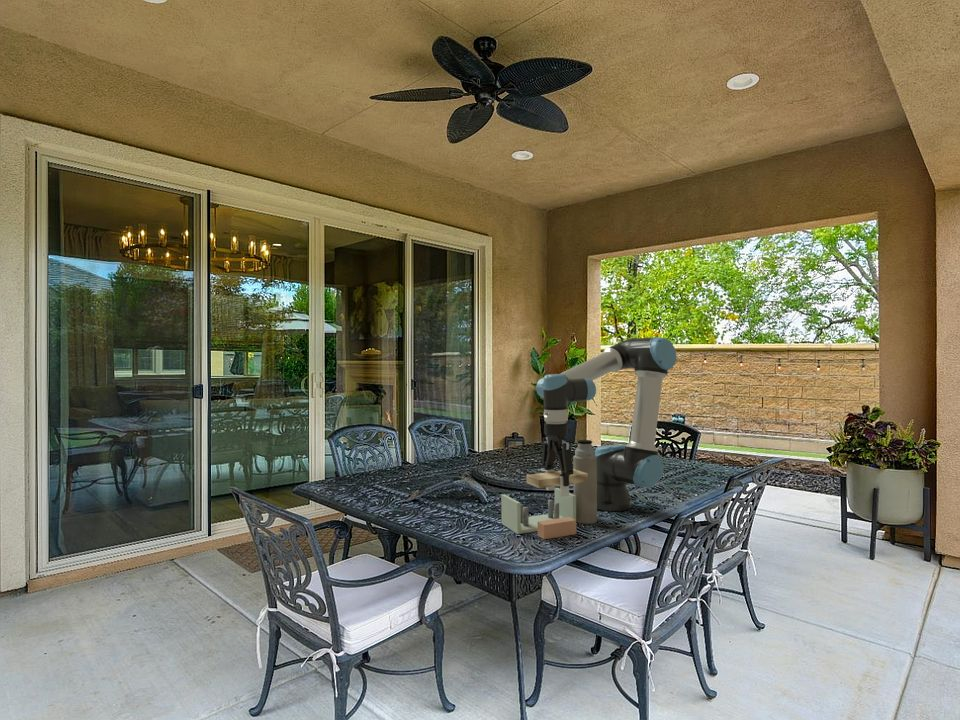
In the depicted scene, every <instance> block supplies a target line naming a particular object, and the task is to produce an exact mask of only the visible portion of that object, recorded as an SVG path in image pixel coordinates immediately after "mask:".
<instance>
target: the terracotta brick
mask: <svg viewBox="0 0 960 720" xmlns="http://www.w3.org/2000/svg"><path fill="white" fill-rule="evenodd" d="M572 535H577V522H576V520H575V519H573V518H571V517H565V518H558V519H552V520H545V521H538V531H537V536H538V537H539V538H540V539H543V540H548V539H556V538H561V537H566V536H567V537H568V536H572Z"/></svg>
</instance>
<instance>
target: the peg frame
mask: <svg viewBox="0 0 960 720" xmlns="http://www.w3.org/2000/svg"><path fill="white" fill-rule="evenodd" d="M500 496H501V498H500V499H501V500H500V501H501V509H500V510H501V524H502V525H503V526H504V527H506V528H507V529H509V530H511V531H512V532H513V533H515V534H517V535H520V534H527V533H532V532H538V521H545V520H552V519H558V518H565V517H571V518H573V519H575V520H576V495H574V493H571V492H569V496H563V497H561V496H560V487H555V489H554V499H548V500H547V513H546V514H540V515H532V516H529V507H528V506H524V504H523V503H521V502H520V501H518V500H516V499H514V498H512V497H510V496H509V495H507V494H505V493H504V494H501V495H500Z"/></svg>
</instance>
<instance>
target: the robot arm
mask: <svg viewBox="0 0 960 720" xmlns="http://www.w3.org/2000/svg"><path fill="white" fill-rule="evenodd" d="M676 363H677V350H676V347H675V346H674V345H673V342H672V341H670V340H669V338H666V337H659V336H658V337H657V336H653V337H634V338H629V339H625V340H623V341H620V342H618V343H616V344H614V345H612V346H610V347H607V348H605V349H604V350H603V352H602V353H601V354H599V355H597V356H594V357H592V358H590V359H588V360H586V361H584V362H581V363H580V364H577V365H576V366H572V367H571V368H568V369H567V370H565V371H562V372H561V373H553V374H546V375H544V377H542V378H540V379H538V381H537V383H536V386H535V388H536V389H535V391H536V393H537V395H538V396H539V397H540V398H542V399H543V418H544V419H543V420H544V423H543V426H544V428H543V429H544V431H543V432H544V435H546V437H542V454H541V455H542V456H541V467H542V468H544V470H545V473H546V472H554V471H555V466H554V463H555V459H556V457H557V461H558V464H559V469H560V470H559V471H561V475H560V485H559V489H560V496H561V497H563V496H569V493H570V484H569V475H572V474H573V469H574V465H573V456H572V443H571V442H567V441H566V438H565V437H566V435H568V434H569V426H568V425H569V424H568V422H569V420H568V419H569V417H568V416H569V415H568V414H569V413H568V404H569V403H578V402H579V403H580V402H584V403H585V402H587V401H591V400H593V399H594V398H595V396H596V395H597V393H596V392H597V386H596V383H595V380H597V379H599V378H601V377H603V376H605V375H607V374H609V373H611V372H614V373H617V372H619V371H621V370H627V369H628V370H629V369H633V370H634V371H633V372H634V374H635V375H636V376H637V383H636V389H635V390H636V391H635V399H634V408H633V415H632V424H631V432H630V438H629V441H628V443H627V444H608V445H607V444H606V445H601V446H597V447H596V448H595V449H594V452H595V453H594V456H596V457H597V510H601V511H609V512H610V511H611V512H620V511H621V512H622V511H623V512H624V511H628V510H630V509H631V508H632V500H631V497H630V493H629V491H628V487H627V484H629V485H634V486H637V487H643V488H652V487H655V485H657V483H658V482H659V481H660V480H661V478H662V477H663V473H664V469H665V465H664V463H663V459H662V458H661V457H660V456H659V450H658V449H657V447H656V445H655V443H656V436H657V435H656V434H657V426H658V420H659V419H658V418H659V411H660V402H661V394H662V386H663V380H664V379H665V378H666V377H668V372H669V371H670V370H671V369H673V368H674V366H675V365H676ZM555 488H556V486H552V487H545V489H546V491H554V490H555Z"/></svg>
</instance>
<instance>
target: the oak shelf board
mask: <svg viewBox="0 0 960 720" xmlns="http://www.w3.org/2000/svg"><path fill="white" fill-rule="evenodd" d="M560 475H561V470H556V471H555V470H554V472H546V471H545V472H540V473H538V472H537V473H534V474H533V473H532V474H526V484H529V485H531V486H533V487H535V488H537V489H543V488H545V489H546V487H552V486H555V487H560ZM587 481H588V474H587V473H584V472H581V471H579V470H576V469H574V468H573V474H572V475H569V485H572V484H573V485H574V483H580V482H587Z"/></svg>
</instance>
